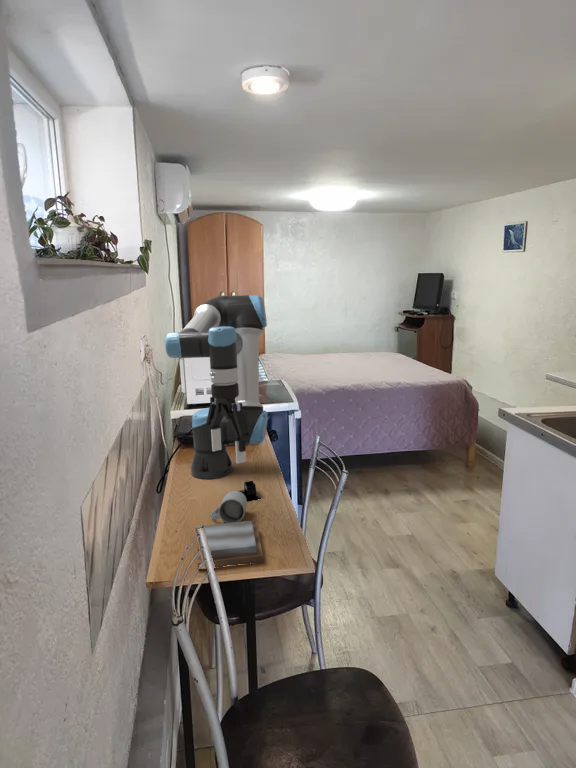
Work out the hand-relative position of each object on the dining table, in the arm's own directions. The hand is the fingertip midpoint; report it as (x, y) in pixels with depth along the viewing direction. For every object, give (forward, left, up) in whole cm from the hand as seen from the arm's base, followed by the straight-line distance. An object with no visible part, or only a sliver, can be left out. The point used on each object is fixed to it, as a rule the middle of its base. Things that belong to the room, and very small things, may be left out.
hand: (228, 456), depth 141 cm
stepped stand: (+14, -8, -20) cm, 26 cm away
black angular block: (-11, +12, -20) cm, 26 cm away
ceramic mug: (-1, 0, -20) cm, 20 cm away
